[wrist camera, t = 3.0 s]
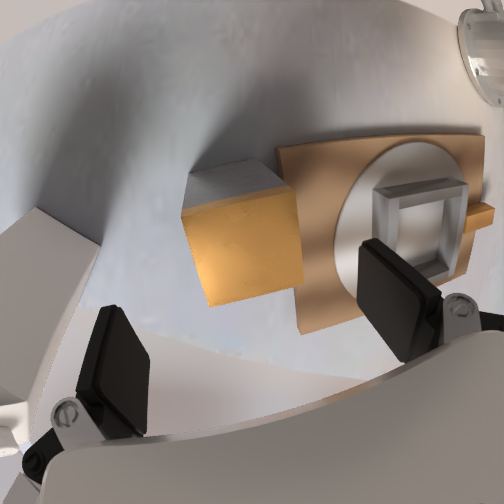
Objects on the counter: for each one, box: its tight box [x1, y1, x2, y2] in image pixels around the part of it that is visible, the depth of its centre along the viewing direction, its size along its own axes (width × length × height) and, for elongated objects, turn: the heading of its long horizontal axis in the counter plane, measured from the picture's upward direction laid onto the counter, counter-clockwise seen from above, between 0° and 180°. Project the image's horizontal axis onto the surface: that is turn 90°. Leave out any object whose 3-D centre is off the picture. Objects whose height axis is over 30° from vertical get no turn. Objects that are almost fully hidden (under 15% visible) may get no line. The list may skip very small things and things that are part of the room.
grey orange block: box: [181, 158, 304, 307], centre depth 17 cm, size 5×5×9 cm
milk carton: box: [0, 207, 101, 457], centre depth 12 cm, size 7×7×19 cm
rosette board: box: [275, 133, 495, 335], centre depth 23 cm, size 18×25×4 cm
